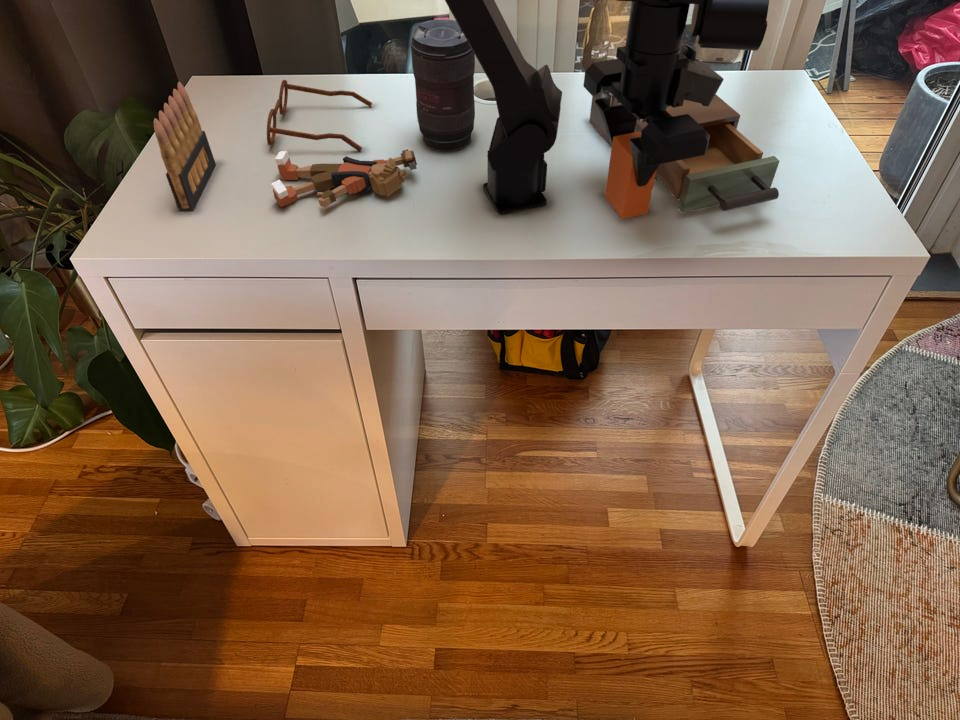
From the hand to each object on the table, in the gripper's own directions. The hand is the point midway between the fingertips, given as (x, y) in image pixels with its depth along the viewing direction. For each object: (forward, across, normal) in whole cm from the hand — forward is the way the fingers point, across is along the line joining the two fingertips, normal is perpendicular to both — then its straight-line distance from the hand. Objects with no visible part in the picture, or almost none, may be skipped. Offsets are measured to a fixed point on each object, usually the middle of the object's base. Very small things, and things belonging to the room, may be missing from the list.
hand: (631, 173), depth 85 cm
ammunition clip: (+5, +22, +50) cm, 55 cm away
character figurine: (+5, +15, +32) cm, 36 cm away
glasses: (+5, +31, +32) cm, 45 cm away
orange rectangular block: (+5, 0, 0) cm, 5 cm away
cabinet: (+5, +12, -11) cm, 17 cm away
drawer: (+4, 0, -11) cm, 12 cm away
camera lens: (+5, +22, +16) cm, 28 cm away
